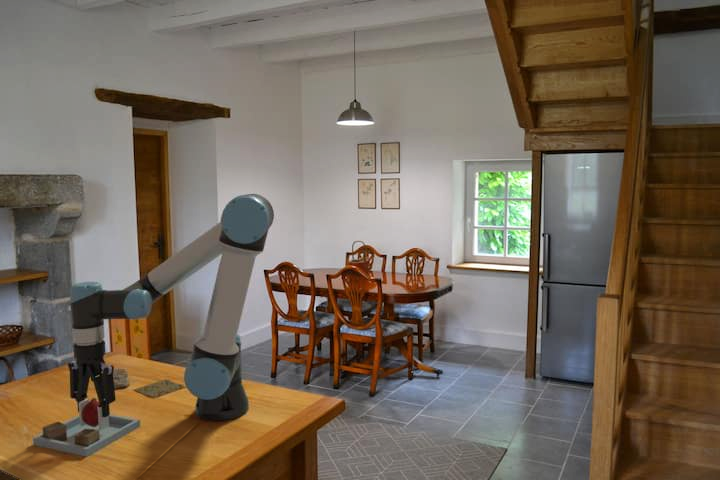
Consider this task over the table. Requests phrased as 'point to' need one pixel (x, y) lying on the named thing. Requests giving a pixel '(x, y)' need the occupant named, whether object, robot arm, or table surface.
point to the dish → (108, 435)
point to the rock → (120, 378)
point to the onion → (91, 413)
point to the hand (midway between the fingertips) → (94, 425)
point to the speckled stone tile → (159, 388)
